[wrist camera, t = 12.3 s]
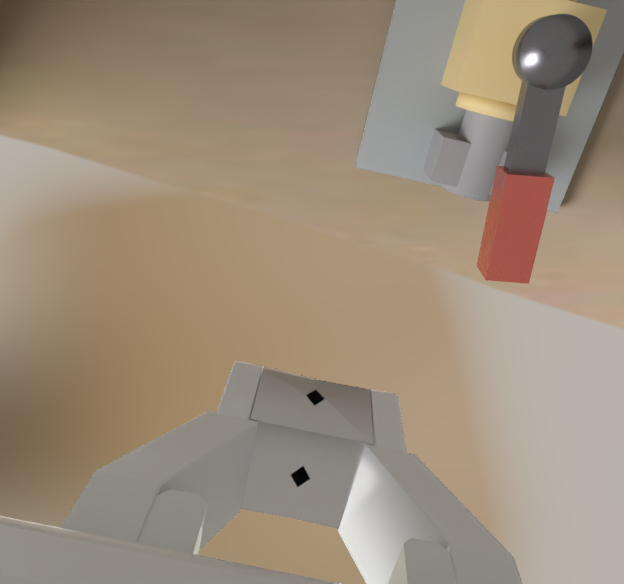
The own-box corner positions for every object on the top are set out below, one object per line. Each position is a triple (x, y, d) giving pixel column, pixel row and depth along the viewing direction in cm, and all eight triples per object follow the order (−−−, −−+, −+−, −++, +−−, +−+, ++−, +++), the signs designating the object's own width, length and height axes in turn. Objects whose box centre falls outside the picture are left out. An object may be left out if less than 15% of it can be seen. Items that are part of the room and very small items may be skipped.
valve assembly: (552, 208, 44) (606, 251, 34) (355, 164, 43) (358, 195, 34) (672, -88, 35) (784, -133, 26) (431, -147, 35) (461, -215, 26)
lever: (469, 264, 35) (477, 279, 33) (518, 13, 29) (532, 10, 27) (525, 269, 35) (537, 284, 33) (586, 17, 29) (605, 15, 27)
